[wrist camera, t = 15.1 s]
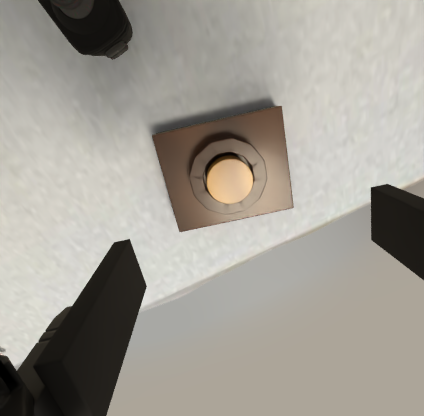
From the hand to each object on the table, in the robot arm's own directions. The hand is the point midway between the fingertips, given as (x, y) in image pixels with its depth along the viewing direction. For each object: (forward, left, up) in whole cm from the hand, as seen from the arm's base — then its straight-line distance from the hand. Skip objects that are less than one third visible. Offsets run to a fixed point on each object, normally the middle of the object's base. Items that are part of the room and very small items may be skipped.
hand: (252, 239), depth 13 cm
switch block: (0, 0, -16) cm, 16 cm away
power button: (0, 0, -13) cm, 13 cm away
